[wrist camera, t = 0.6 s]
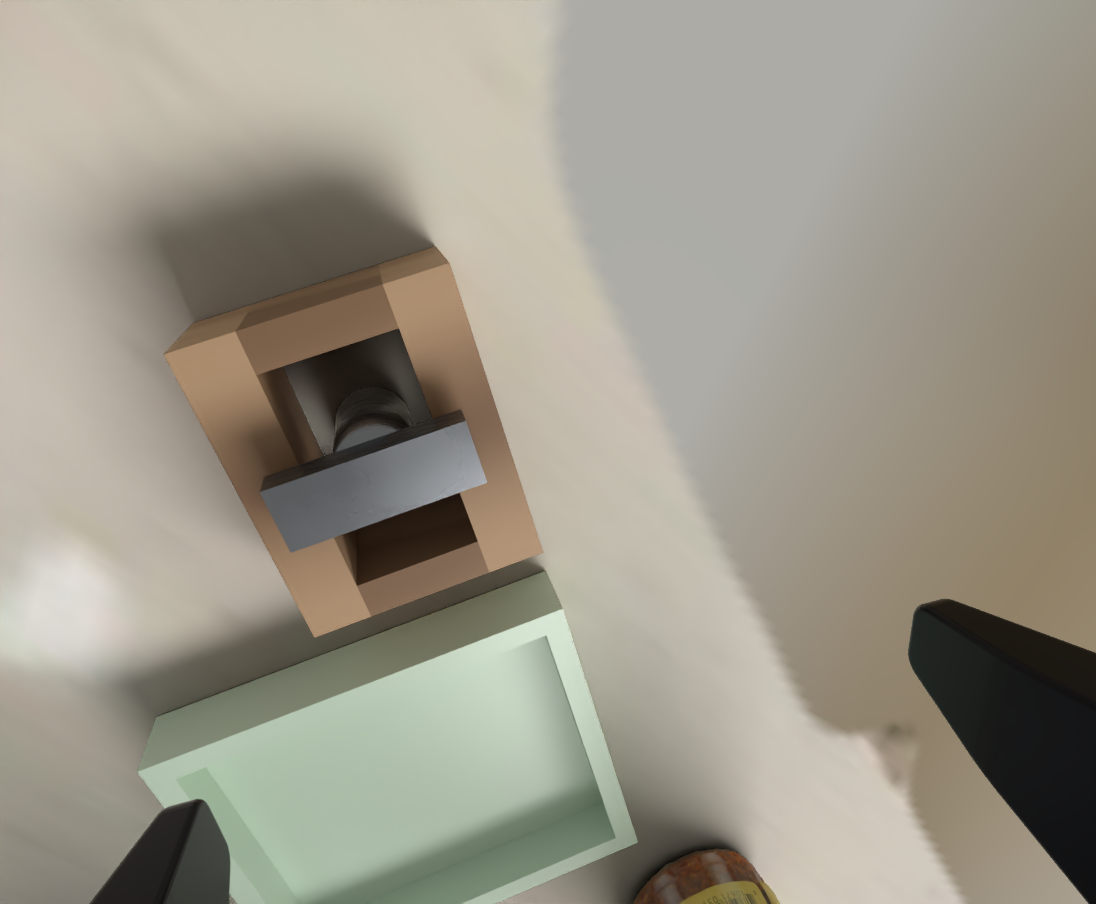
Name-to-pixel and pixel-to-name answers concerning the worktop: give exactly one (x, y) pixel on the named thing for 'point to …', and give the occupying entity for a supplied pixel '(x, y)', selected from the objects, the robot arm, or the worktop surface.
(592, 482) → the worktop surface
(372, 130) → the worktop surface
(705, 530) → the worktop surface
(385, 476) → the grey t-shaped knob
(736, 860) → the sauce bottle
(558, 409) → the worktop surface
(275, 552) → the collar
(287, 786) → the tray
